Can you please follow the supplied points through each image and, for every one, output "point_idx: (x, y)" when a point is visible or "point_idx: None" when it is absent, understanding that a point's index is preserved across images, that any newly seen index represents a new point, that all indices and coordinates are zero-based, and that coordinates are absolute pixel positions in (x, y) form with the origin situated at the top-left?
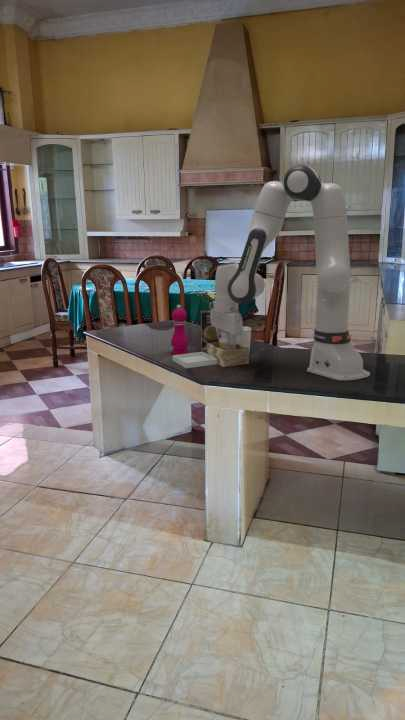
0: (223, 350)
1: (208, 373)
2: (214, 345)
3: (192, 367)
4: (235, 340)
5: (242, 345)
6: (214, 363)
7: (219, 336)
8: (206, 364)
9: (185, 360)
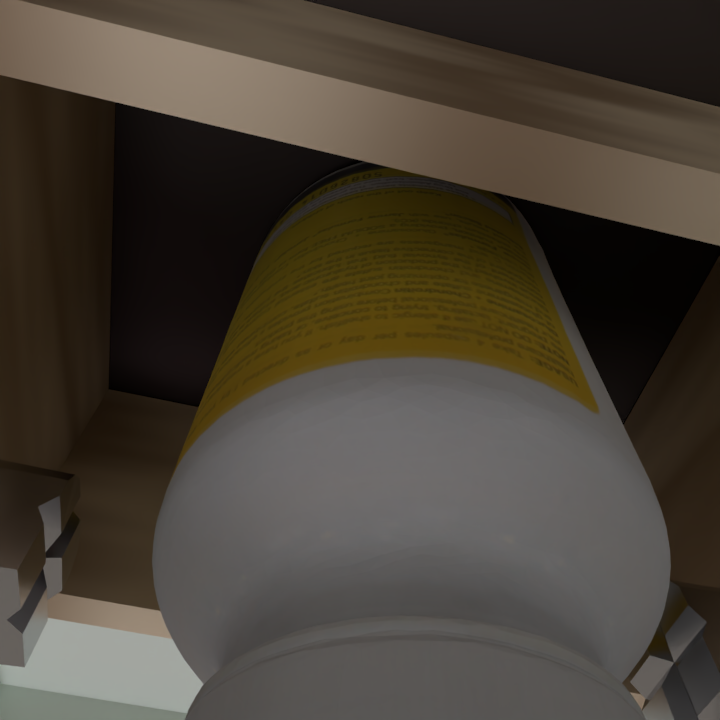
0: (642, 705)
1: None
2: (11, 460)
3: None
4: (653, 498)
5: (714, 174)
6: None
7: (34, 640)
8: None
9: (129, 665)
